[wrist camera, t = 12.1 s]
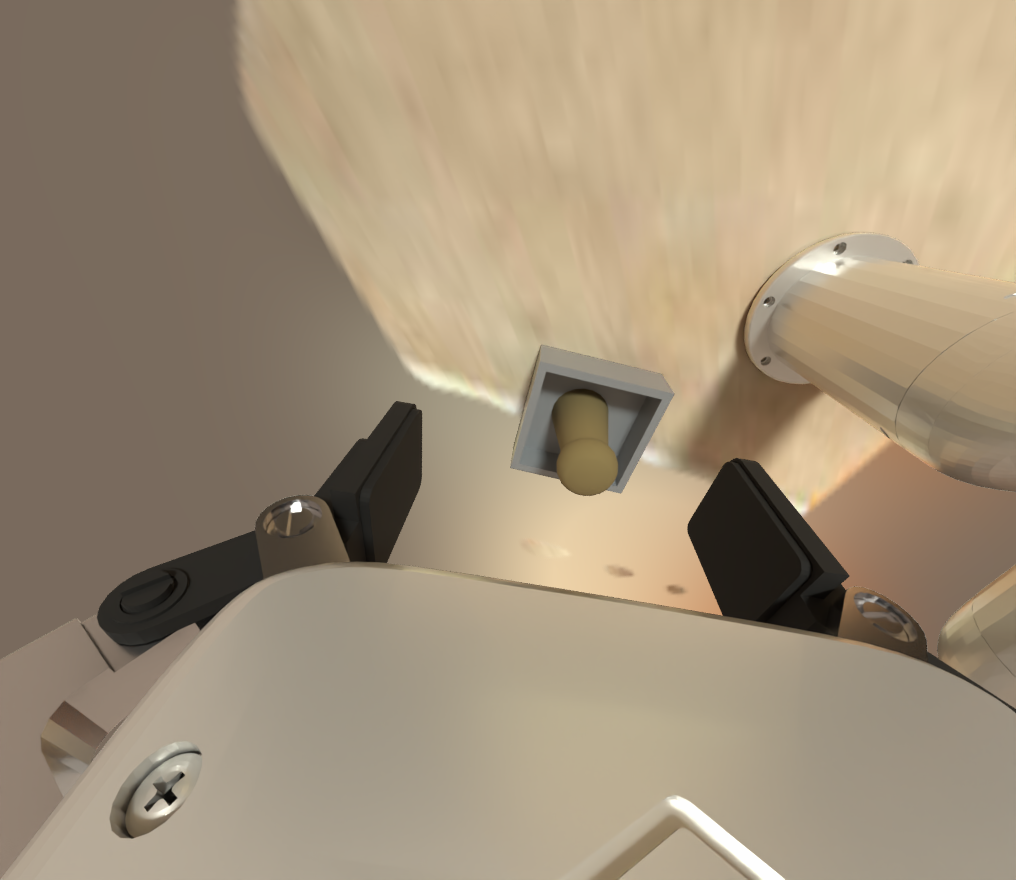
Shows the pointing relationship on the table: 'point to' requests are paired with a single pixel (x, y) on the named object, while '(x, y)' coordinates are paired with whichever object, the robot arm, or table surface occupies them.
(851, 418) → the table surface
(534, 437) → the box
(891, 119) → the table surface
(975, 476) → the robot arm
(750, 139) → the table surface
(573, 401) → the cork
